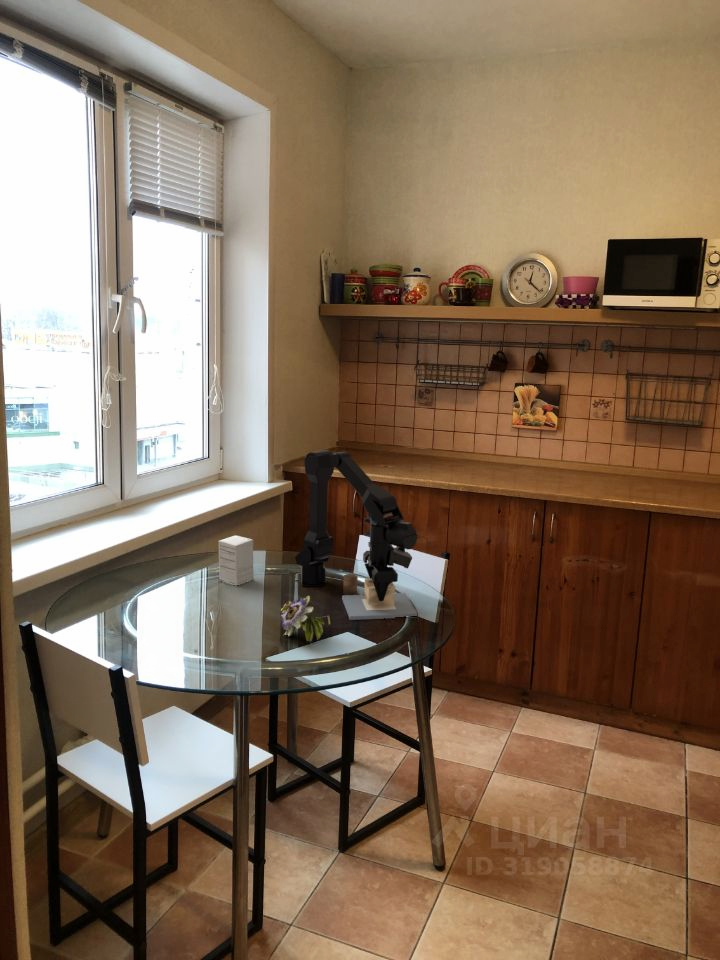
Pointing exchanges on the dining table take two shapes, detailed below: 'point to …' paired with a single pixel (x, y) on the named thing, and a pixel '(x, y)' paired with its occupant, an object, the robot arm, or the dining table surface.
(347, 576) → the walnut peg
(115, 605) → the dining table surface
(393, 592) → the oak socket block
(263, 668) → the dining table surface
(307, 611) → the passion flower
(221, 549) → the supplement box
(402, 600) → the grey rectangular plate
